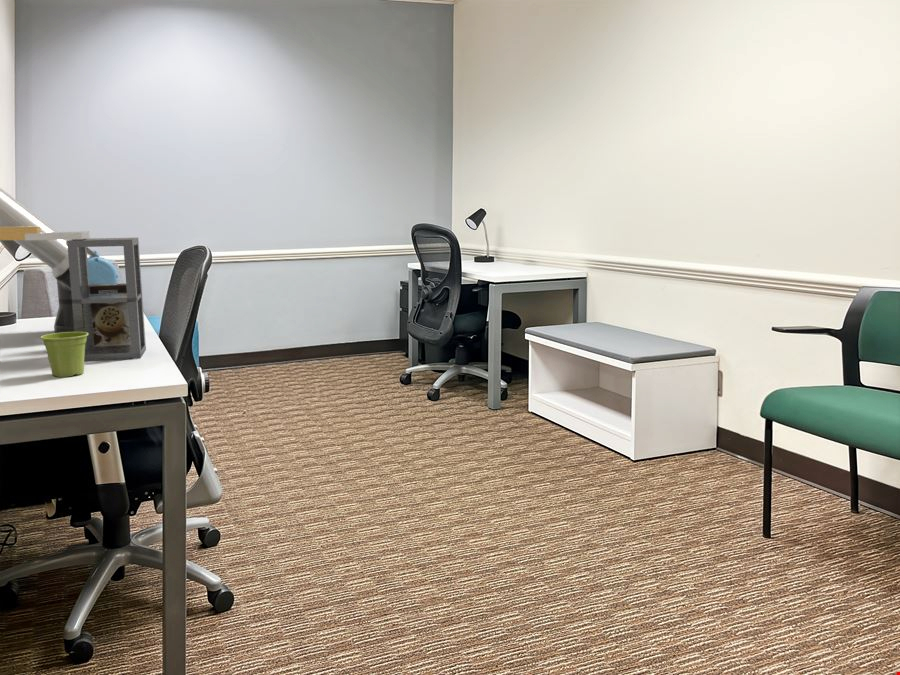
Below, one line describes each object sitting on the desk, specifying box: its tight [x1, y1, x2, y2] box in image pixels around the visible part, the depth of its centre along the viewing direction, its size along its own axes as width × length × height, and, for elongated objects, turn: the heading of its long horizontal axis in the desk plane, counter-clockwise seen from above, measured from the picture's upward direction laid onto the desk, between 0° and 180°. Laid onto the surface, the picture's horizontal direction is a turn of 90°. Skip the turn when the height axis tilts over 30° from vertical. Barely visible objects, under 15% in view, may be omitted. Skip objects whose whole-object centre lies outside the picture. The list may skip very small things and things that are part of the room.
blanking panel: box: [0, 226, 90, 241], centre depth 193 cm, size 10×24×3 cm, turn 104°
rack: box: [66, 237, 147, 362], centre depth 199 cm, size 12×14×28 cm
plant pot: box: [39, 332, 89, 378], centre depth 179 cm, size 9×9×9 cm
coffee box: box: [90, 283, 131, 346], centre depth 213 cm, size 9×6×16 cm
